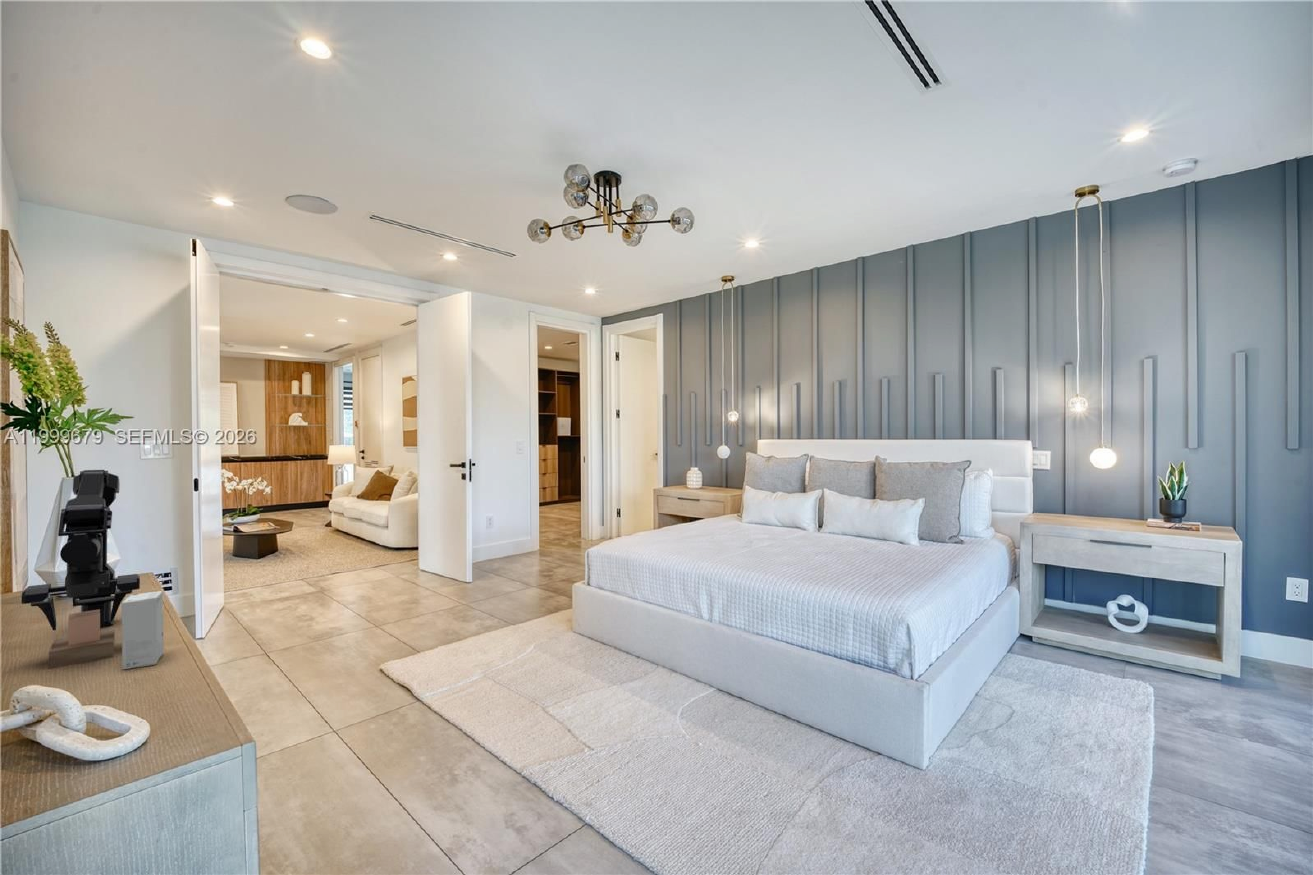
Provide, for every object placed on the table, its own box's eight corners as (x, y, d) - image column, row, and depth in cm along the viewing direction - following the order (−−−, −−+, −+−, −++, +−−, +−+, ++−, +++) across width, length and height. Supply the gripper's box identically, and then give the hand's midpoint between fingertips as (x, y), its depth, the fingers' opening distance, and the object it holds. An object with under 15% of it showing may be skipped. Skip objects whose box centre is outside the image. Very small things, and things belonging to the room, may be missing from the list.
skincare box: (156, 665, 124) (157, 598, 124) (119, 671, 120) (120, 602, 120) (163, 652, 131) (164, 589, 131) (129, 658, 127) (130, 592, 127)
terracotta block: (69, 640, 128) (69, 614, 128) (99, 634, 132) (99, 609, 132) (68, 645, 125) (68, 619, 125) (100, 640, 128) (100, 614, 128)
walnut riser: (53, 657, 128) (54, 639, 128) (114, 646, 135) (114, 630, 135) (48, 670, 121) (48, 652, 121) (112, 658, 128) (113, 641, 128)
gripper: (17, 569, 116) (16, 645, 116) (140, 557, 129) (139, 625, 129) (25, 560, 124) (24, 631, 124) (140, 550, 137) (139, 614, 137)
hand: (83, 625), depth 128 cm, fingers open, 9 cm apart
